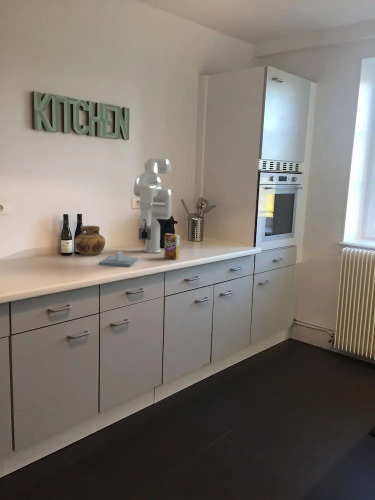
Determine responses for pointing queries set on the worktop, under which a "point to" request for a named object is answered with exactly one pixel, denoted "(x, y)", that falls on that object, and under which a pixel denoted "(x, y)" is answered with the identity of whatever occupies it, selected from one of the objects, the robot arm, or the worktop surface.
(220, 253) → the worktop surface
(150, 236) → the dark grey cube
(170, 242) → the candy box
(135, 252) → the worktop surface
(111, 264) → the base
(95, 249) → the clay pot
